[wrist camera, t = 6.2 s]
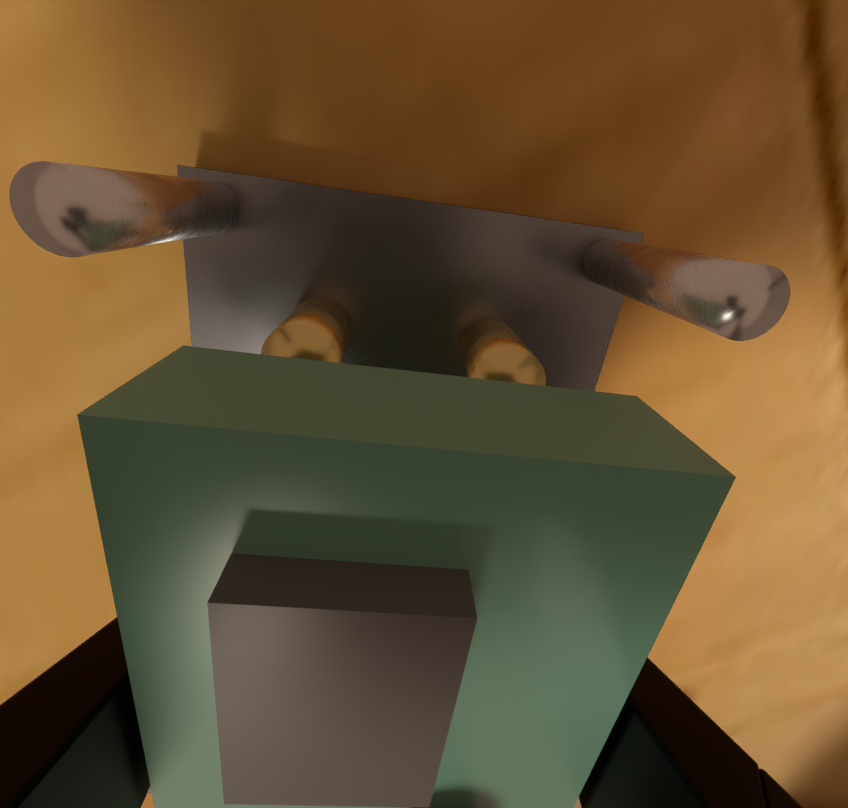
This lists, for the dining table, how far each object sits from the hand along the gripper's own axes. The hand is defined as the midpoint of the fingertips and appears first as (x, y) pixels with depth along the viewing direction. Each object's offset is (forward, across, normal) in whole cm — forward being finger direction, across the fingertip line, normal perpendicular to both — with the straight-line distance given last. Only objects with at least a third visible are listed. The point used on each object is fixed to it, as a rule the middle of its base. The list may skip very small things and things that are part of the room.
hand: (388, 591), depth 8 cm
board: (-1, 0, 0) cm, 1 cm away
